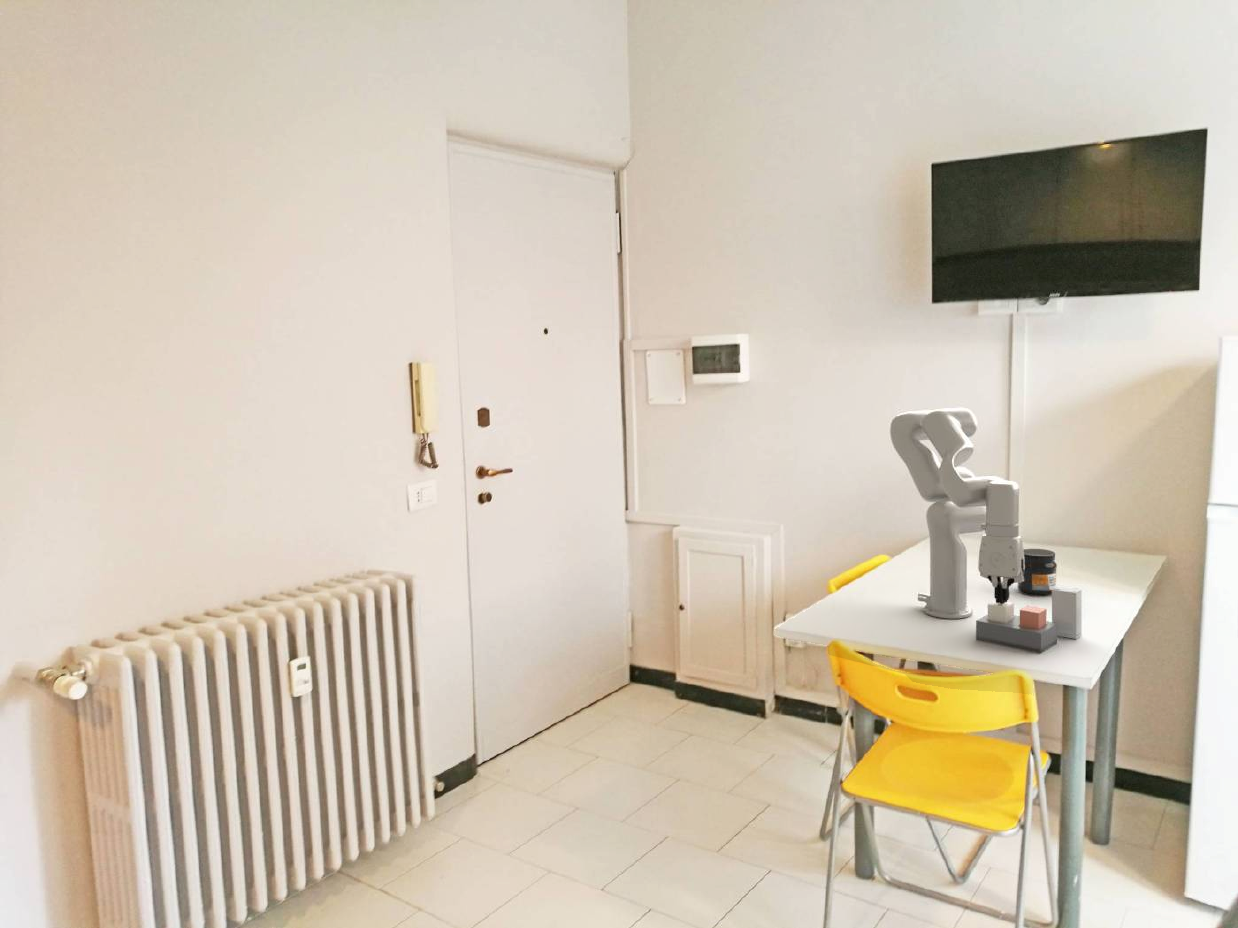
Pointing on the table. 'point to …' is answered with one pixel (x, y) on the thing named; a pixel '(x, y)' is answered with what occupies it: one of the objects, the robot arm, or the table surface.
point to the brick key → (1033, 617)
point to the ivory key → (1001, 612)
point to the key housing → (1017, 634)
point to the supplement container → (1038, 572)
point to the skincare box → (1067, 611)
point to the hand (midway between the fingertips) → (1001, 602)
